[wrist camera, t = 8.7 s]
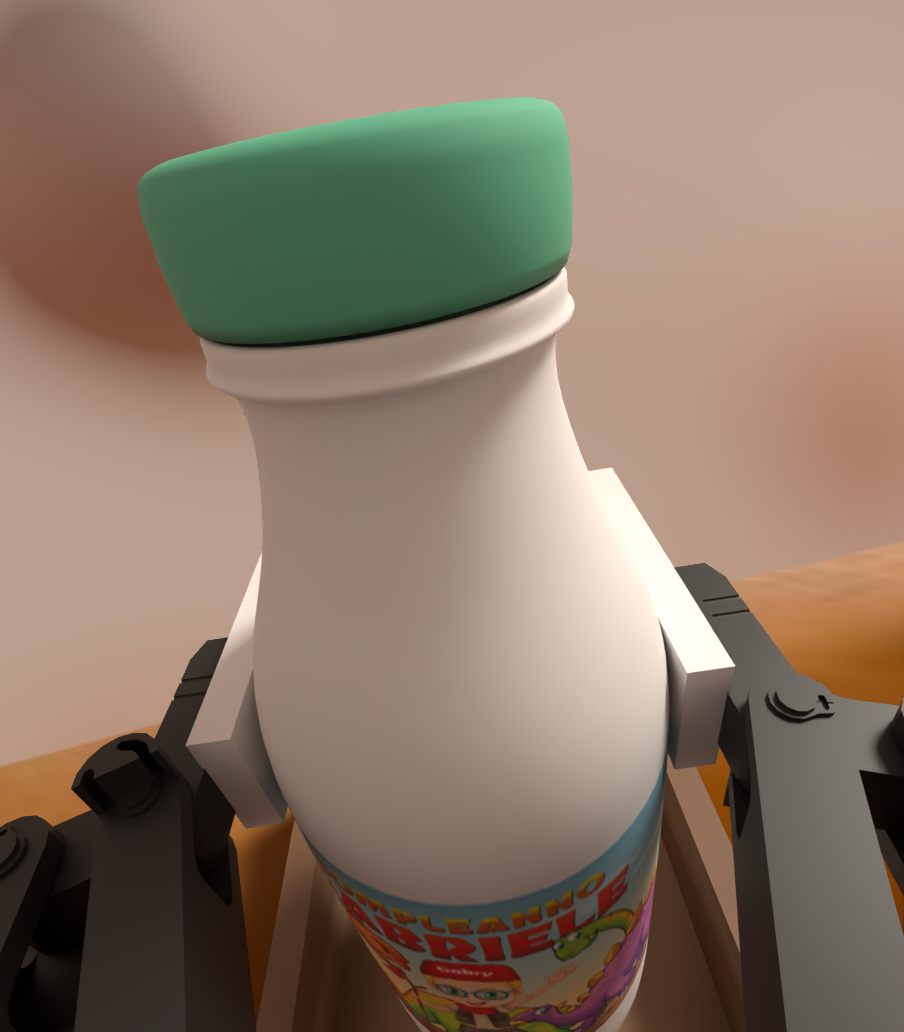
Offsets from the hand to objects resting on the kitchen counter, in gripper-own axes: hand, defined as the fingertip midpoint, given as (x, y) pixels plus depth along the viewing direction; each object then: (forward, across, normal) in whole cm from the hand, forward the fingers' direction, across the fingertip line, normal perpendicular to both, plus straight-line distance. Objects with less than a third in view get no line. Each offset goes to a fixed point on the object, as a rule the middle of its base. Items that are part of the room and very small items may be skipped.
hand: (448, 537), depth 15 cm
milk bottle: (-5, 0, -11) cm, 12 cm away
